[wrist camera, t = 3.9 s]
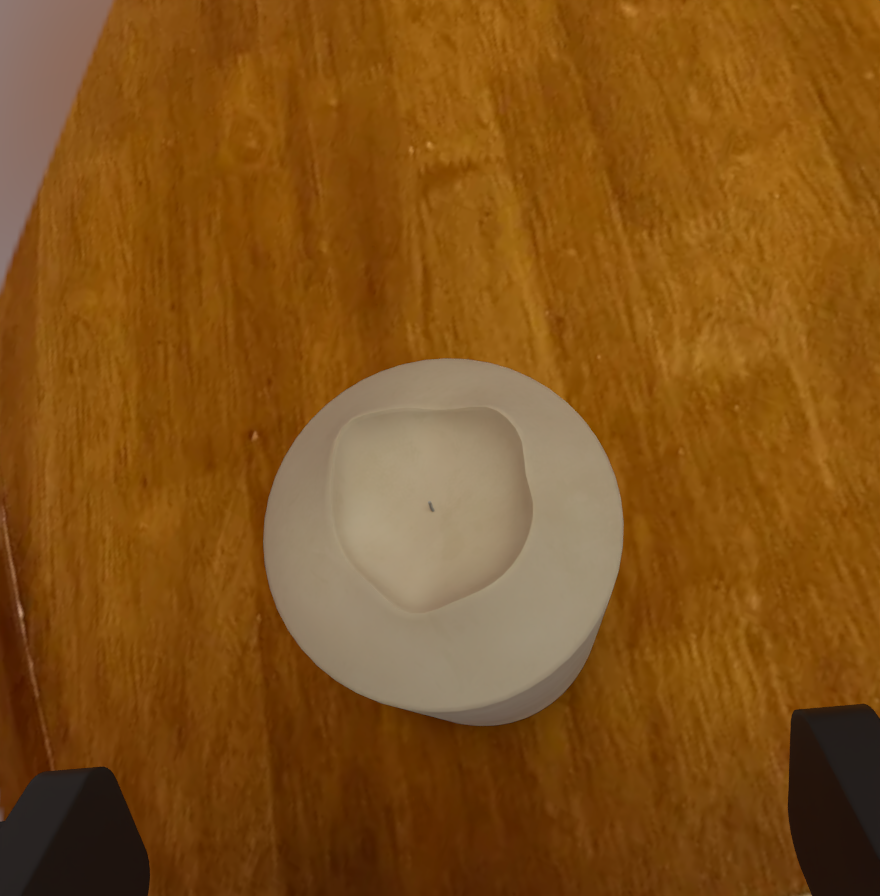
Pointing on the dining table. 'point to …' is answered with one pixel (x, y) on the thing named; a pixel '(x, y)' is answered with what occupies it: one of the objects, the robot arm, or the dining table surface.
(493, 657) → the candle
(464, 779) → the dining table surface
